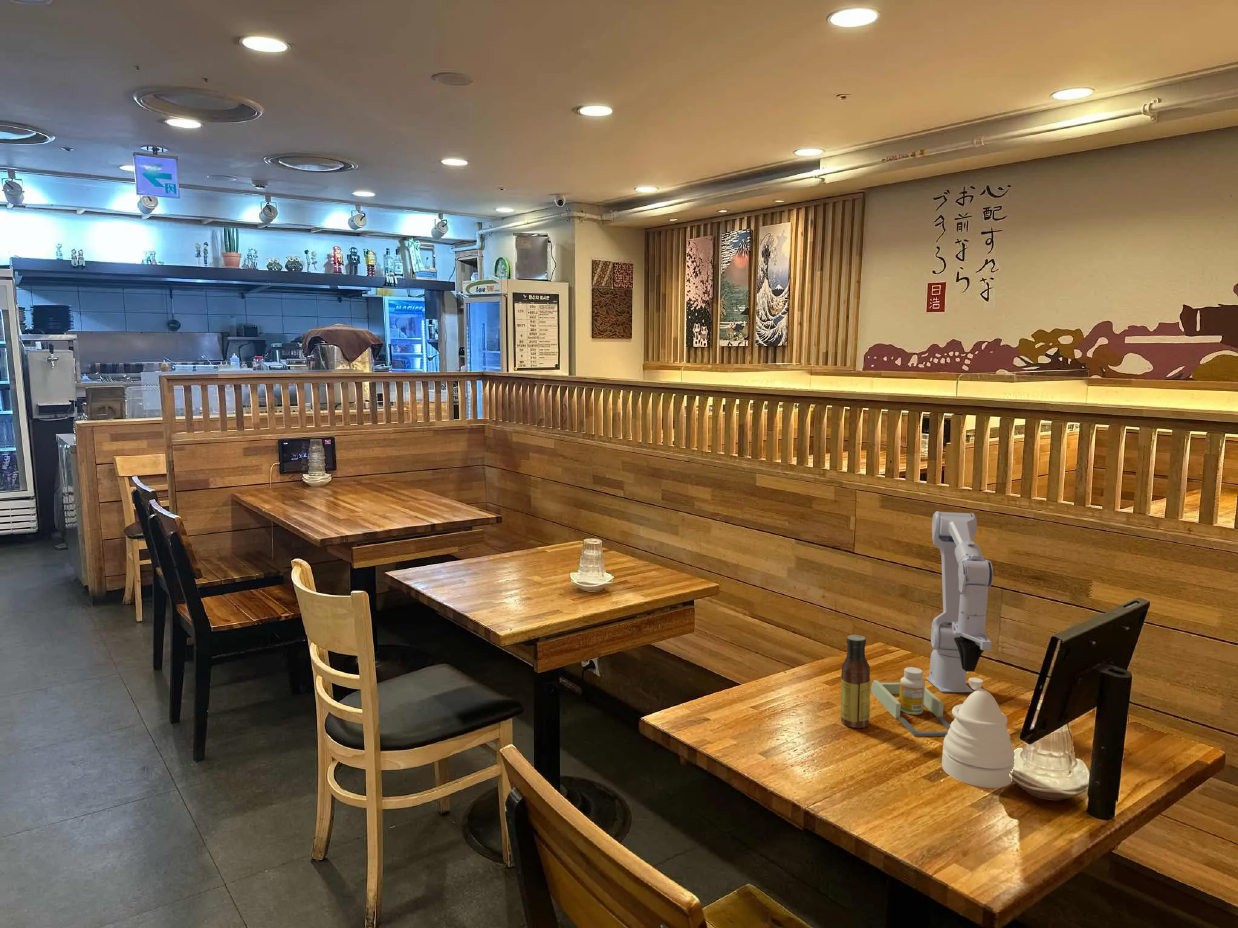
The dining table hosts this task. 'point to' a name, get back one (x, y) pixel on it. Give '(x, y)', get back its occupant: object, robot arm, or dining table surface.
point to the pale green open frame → (893, 706)
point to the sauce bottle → (855, 684)
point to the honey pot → (978, 742)
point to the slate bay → (926, 733)
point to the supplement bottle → (912, 691)
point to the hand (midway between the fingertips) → (968, 670)
